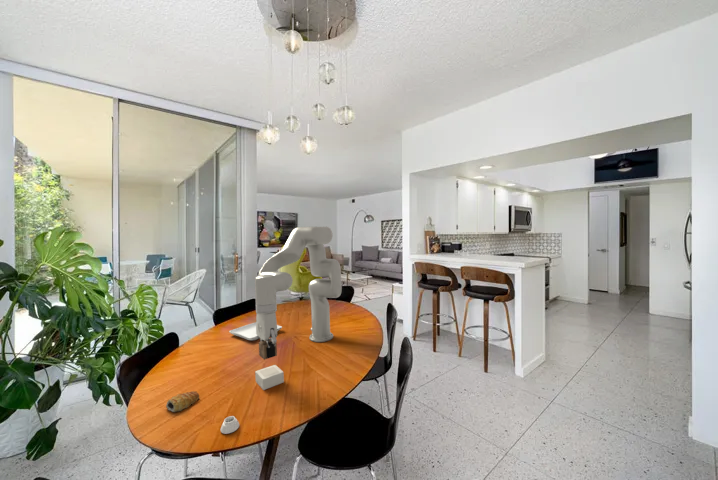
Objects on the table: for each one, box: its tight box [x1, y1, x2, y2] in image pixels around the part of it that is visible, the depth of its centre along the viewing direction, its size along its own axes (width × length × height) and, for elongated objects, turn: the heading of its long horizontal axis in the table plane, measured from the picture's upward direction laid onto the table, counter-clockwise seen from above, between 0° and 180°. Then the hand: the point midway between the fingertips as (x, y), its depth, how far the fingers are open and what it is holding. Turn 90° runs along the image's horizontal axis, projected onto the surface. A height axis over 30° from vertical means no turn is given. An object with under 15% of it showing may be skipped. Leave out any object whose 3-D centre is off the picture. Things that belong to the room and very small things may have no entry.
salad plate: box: [228, 322, 283, 341], centre depth 161 cm, size 21×21×3 cm
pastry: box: [165, 390, 200, 413], centre depth 97 cm, size 9×7×4 cm
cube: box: [258, 340, 278, 361], centre depth 109 cm, size 5×5×5 cm
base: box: [254, 364, 285, 391], centre depth 110 cm, size 8×8×4 cm
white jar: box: [219, 415, 240, 435], centre depth 85 cm, size 5×3×5 cm
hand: (268, 354), depth 109 cm, fingers closed on cube, 5 cm apart
